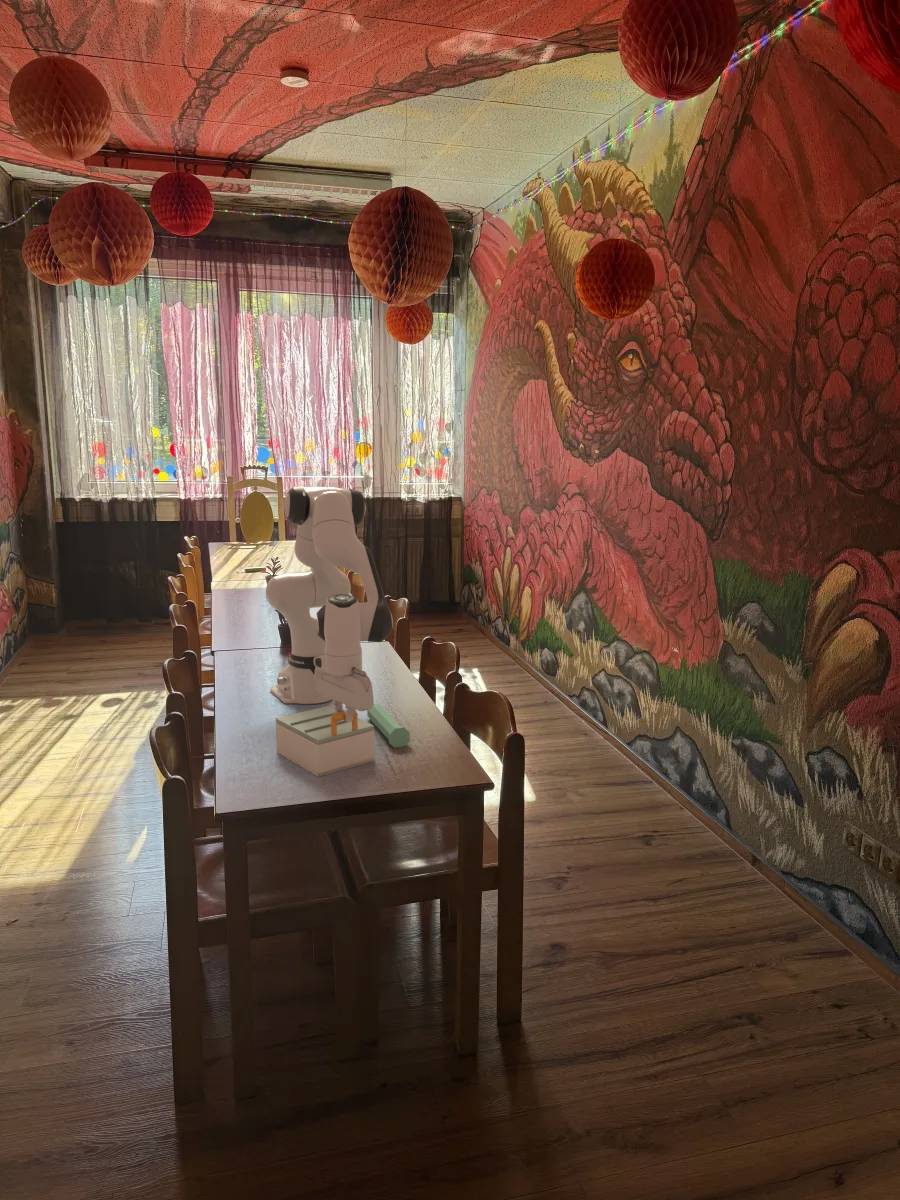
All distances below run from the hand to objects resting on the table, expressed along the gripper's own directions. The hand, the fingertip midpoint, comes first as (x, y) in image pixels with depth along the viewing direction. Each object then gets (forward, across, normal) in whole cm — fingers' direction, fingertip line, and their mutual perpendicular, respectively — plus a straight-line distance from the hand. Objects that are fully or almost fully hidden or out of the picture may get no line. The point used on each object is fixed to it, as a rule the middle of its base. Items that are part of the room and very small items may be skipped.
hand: (344, 719), depth 207 cm
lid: (+4, +9, 0) cm, 10 cm away
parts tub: (+12, +9, 0) cm, 15 cm away
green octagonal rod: (+13, +14, -23) cm, 30 cm away
